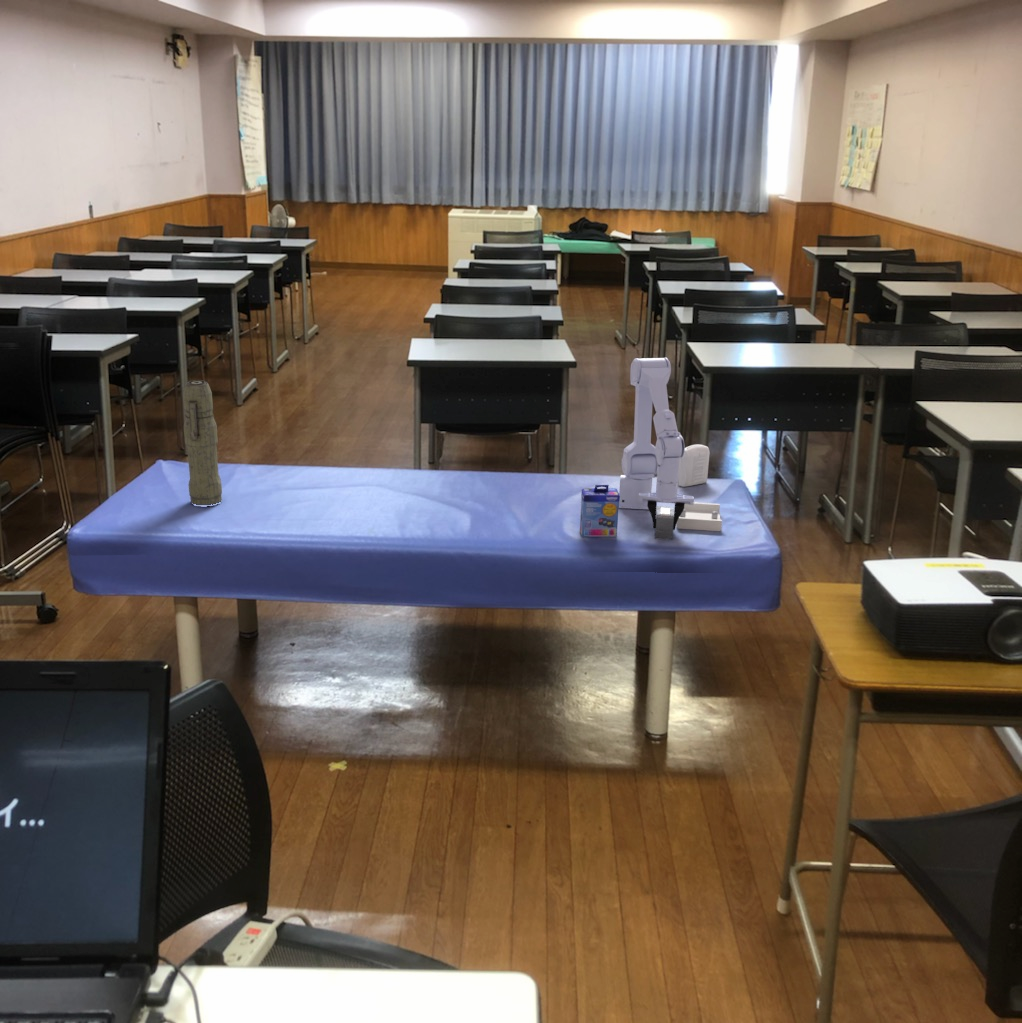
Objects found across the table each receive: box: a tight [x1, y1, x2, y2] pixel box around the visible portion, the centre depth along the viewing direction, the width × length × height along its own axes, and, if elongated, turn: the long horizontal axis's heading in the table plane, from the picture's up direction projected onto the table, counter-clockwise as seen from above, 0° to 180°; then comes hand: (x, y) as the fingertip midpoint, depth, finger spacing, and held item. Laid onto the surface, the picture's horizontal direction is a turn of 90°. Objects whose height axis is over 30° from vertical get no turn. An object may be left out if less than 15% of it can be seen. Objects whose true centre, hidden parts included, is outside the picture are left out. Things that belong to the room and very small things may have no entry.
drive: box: [654, 505, 675, 540], centre depth 291 cm, size 4×9×6 cm, turn 172°
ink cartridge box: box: [579, 484, 620, 538], centre depth 288 cm, size 10×6×14 cm, turn 95°
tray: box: [676, 501, 723, 532], centre depth 301 cm, size 12×14×3 cm
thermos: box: [182, 379, 223, 505], centre depth 302 cm, size 9×12×35 cm
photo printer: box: [678, 443, 711, 488], centre depth 330 cm, size 10×4×12 cm, turn 123°
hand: (664, 527), depth 291 cm, fingers closed on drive, 4 cm apart
